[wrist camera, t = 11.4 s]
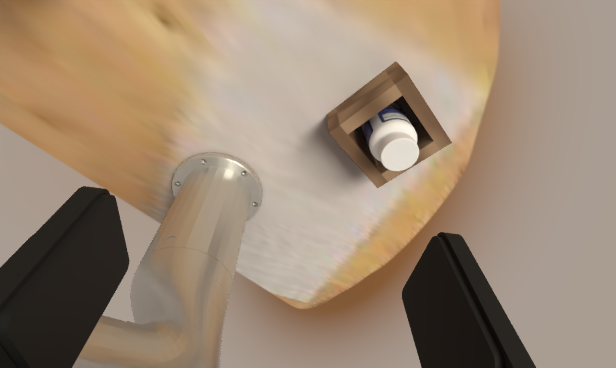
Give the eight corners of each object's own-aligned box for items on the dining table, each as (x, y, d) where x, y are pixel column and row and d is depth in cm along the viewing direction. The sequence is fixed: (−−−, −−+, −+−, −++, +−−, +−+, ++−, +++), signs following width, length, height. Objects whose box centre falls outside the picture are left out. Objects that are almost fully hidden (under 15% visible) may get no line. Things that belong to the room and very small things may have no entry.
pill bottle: (380, 146, 42) (396, 185, 35) (352, 123, 40) (363, 159, 33) (412, 117, 40) (436, 152, 33) (383, 91, 38) (402, 122, 31)
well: (370, 166, 44) (377, 188, 40) (326, 115, 39) (328, 133, 35) (437, 123, 40) (451, 142, 36) (396, 61, 36) (408, 74, 32)
